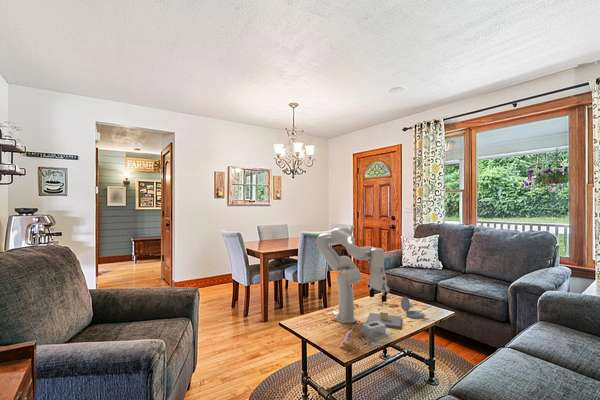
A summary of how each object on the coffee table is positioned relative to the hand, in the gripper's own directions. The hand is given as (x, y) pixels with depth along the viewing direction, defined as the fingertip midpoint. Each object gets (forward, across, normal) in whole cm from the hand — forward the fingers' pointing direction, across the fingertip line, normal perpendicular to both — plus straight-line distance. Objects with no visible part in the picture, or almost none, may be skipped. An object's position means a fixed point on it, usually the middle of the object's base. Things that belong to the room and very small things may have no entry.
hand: (377, 299), depth 167 cm
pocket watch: (+20, +7, -38) cm, 44 cm away
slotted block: (+19, +1, +3) cm, 19 cm away
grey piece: (+19, +10, -14) cm, 26 cm away
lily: (+20, -3, +24) cm, 31 cm away
